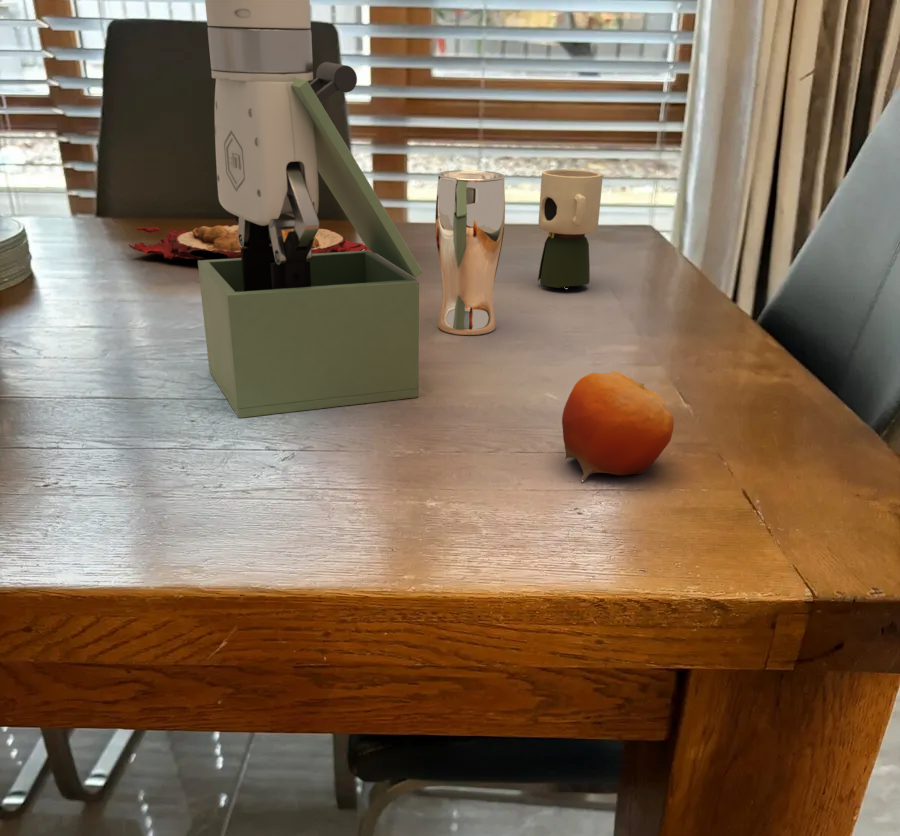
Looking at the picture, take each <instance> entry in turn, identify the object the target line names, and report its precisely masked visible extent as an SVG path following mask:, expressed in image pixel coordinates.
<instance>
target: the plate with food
mask: <svg viewBox="0 0 900 836" xmlns="http://www.w3.org/2000/svg"><path fill="white" fill-rule="evenodd" d="M238 226H239V225H238V224H233V225H230V226H229V224H226V225H221V224H220V225H215V226H207V225H203V226H200V227H199V228H198V227H195V228H194V229H193V230H186V229H184V230H183V229H181V228H180V229H179V231H177V230H176V229H175V230H173V229H172V228H170V229H169V230H168V233H167V234H166V237H164V238H162V239H160V242H158V243H155V244H149V245H146V244H145V242H142V241H141V242H139V243H134V245H131V244H130V243H128V246H129V248H131V249H133V250H135V251H138V252H141V253H144V255H147V254H152V255H153V256H154V255H160V256H163V258H164V259H166V260H167V259H169V260H171V261H172V260H173V259H181V258H182V259H186V260H188V259H189V260H190V259H191V260H195V259H196V261H197V262H198V261H199V260H203V259H204V257H203V256H196V255H195V254H193V253H191V252H193V251H200V250H201V251H206V252H211V253H214V254H221V255H222V254H223V255H226V256H227V257H226V259H233V258H241V248H246V247H241V246H240V244H239V241H238ZM136 230H137V231H144V232H146V233H154V232H159V231H162V230H163V229H162V228H159V227H158V226H153V227H152V226H141V227H140V226H138V227H137V228H136ZM293 230H294V229H290V230H282V235H283V240H284V242H285V240H286V237H287V235H288V233H289V232H290V231H293ZM162 235H163V234H162V233H161V234H160V236H162ZM155 236H158V233H156V234H155ZM363 244H364V243H362V242H361V243H360V242H354V241H349V240H347V239H346V237H343V236H342V235H341V234H339V233H337V232H336V231H334V230H331V229H326V228H319V230H318V231H317V233H316V235H315V237H314V241H313V245H312V247H311V251H312V254H317V253H334V252H351V251H362V250H363V249H365V250H364V251H367V250H370V249H369V248H367V247H366V246H365V245H363ZM270 246H272V245H270ZM370 251H372V250H370ZM372 252H373V251H372Z"/></svg>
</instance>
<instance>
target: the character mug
mask: <svg viewBox="0 0 900 836" xmlns="http://www.w3.org/2000/svg"><path fill="white" fill-rule="evenodd" d="M603 176H604V175H603V173H602V172H599V171H595V170H589V169H578V168H558V169H557V168H556V169H555V168H554V169H547V170H543V171H542V172H541V177H540V179H541V180H540V193H539V194H540V195H539V209H538V228H539V229H540V230H542V231H544V232H548V235H547V238H546V240H545V241H544V245H543V250H542V253H541V260H540V264H539V269H538V276H537V281H539V284H540V285H543V286H546V287H550V288H564V287H565V288H568V287H569V288H570V287H576V286H586V285H589V284H590V277H591V276H590V274H591V273H590V269H591V267H590V244H589V240H588V238H587V237H586V235H588V234H591V233H594V232H597V231H598V229H599V221H600V220H599V219H600V210H601V209H600V208H601V199H602V189H603V179H604V177H603ZM569 288H568V289H569Z"/></svg>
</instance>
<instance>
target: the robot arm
mask: <svg viewBox="0 0 900 836" xmlns="http://www.w3.org/2000/svg"><path fill="white" fill-rule="evenodd" d="M310 1H311V0H204V6H205V14H206V25H207V26H208V27H207V37H208V38H207V39H208V48H209V59H210V60H209V61H210V69H211V78H212V79H215V88H214V140H215V141H214V146H215V163H216V164H215V165H216V183H217V184H216V185H217V196H218V197H217V198H218V202H219V204H220V206H222V208H223V209H224V210H225V211H226V212H228V213H230V214H232V215H234V219H235V222H236V223H237V225H239V226H238V241H239V244H240V246H241V247H246V248H241V260H242V272H243V284H244V291H258V290H272V289H286V288H300V287H311V273H310V262H311V260H312V251H311V247H312V245H313V241H314V237H315V235H316V233H317V231H318V230H319V229H320V220H319V217H318V214H319V205H320V204H319V202H320V189H319V172H318V165H317V152H316V141H315V131H314V123H313V121H312V119H311V118H310V116H309V114H308V112H307V111H306V109H305V107H304V106H303V104H302V102H301V101H300V99H299V97H298V96H297V94H296V92H295V91H294V89H293V88H292V86H291V85H292V84H293V83H294V82H292V81H293V80H294V79H295V78H298V79H302V80H306V81H308V82H309V81H310V82H311V81H313V80H314V72H313V71H314V67H313V66H314V65H313V44H312V39H313V37H312V29H311V28H312V25H311V24H312V23H311V4H310V3H311V2H310ZM282 214H283V215H286V216H290V217H291V218H293V219H291V218H289V219H279V218H280V216H281V215H282ZM290 229H294V230H293V231H290V232H289V233H288V235H287V237H286V240H285V242H284V240H283V235H282V230H290ZM270 245H272V246H270Z"/></svg>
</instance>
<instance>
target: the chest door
mask: <svg viewBox="0 0 900 836" xmlns="http://www.w3.org/2000/svg"><path fill="white" fill-rule="evenodd" d="M292 82H294V83H293V84H292V85H291V86H292V88H293V89H294V91H295V92H296V94H297V96H298V97H299V99H300V101H301V102H302V104H303V106H304V107H305V109H306V111H307V112H308V114H309V116H310V118H311V119H312V121H313V123H314V131H315V141H316V152H317V165H318V174H319V175H320V177H321V178H322V180H323V182H324V183H325V185H326V186H327V187H328V189H329V191H330V192H331V194H332V195H333V197H334V199H335V200H336V202H337V203H338V205H339V206H340V208H341V210H342V212H343V213H344V214H345V216H346V218H347V219H348V220H349V222H350V224H351V225H352V227H353V228H354V230H355V232H356V233H357V235H358V237H359V238H360V240H361V241H362V242H363V243H362V244H365V246H366V247H367V248H369V249H370V250H372V252H373V253H375V254H377V255H378V256H380V257H381V258H383V259H384V260H386V261H388V262H389V263H391V264H392V265H394V266H396V267H397V268H399V269H400V270H402V271H404V272H405V273H407V274H408V275H410V276H411V277H413V278H415V279H417V278H418V277H419V276H421V274H423V272H424V271H423V270H422V268H421V266H420V265H419V263H418V261H417V260H416V258H415V256H414V254H413V253H412V251H411V250H410V248H409V246H408V245H407V243H406V241H405V239H404V238H403V237H402V235H401V233H400V232H399V230H398V228H397V227H396V225H395V223H394V222H393V220H392V219H391V216H390V215H389V213H388V212H387V210H386V208H385V207H384V205H383V203H382V202H381V200H380V199H379V196H378V195H377V194H376V192H375V191H374V189H373V187H372V185H371V184H370V182H369V180H368V178H367V177H366V176H365V173H364V172H363V171H362V169H361V167H360V166H359V163H358V162H357V161H356V158H355V157H354V155H353V154H352V152H351V150H350V149H349V147H348V145H347V144H346V142H345V141H344V139H343V137H342V136H341V134H340V132H339V130H338V129H337V128H336V125H335V124H334V123H333V121H332V119H331V118H330V116H329V114H328V112H327V111H326V110H325V109H326V108H324V106H323V103H324V102H326V101H327V100H328V99H330V98H331V97H332V96H334V95H335V94H336V93H337V92H340V93H341V92H342V93H350V92H352V91H353V90H355V88H356V86H357V84H358V76H357V73H356V71H355V69H354V68H352V67H351V66H350V65H345V64H339V63H335V62H329V61H324V62H322V63H321V64H319V65H318V66H317V69H316V73H315V79H314V78H313V80H311V81H310V82H309V81H306V80H302V79H298V78H295V79H294V80H293V81H292Z"/></svg>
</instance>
